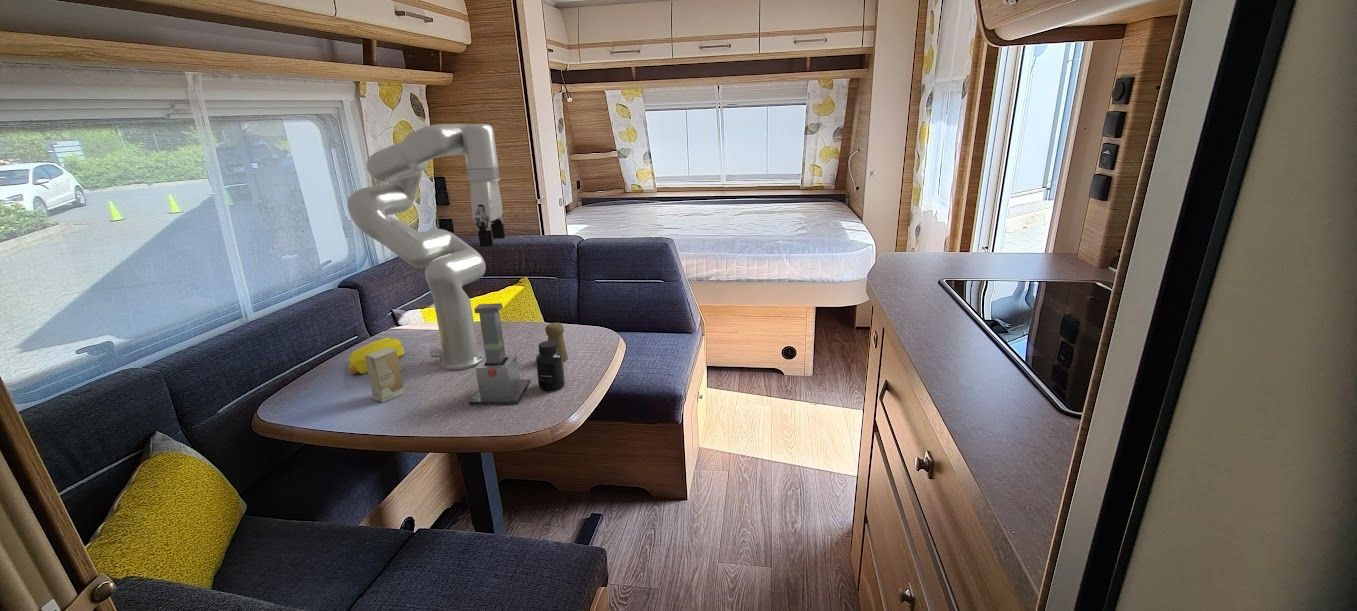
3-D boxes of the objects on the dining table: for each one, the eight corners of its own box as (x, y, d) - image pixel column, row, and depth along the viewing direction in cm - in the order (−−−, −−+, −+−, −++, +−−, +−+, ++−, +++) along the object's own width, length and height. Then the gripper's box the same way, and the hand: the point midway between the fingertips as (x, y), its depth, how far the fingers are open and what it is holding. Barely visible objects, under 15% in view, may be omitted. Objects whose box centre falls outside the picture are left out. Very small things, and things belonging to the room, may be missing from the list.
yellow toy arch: (342, 375, 161) (361, 379, 158) (336, 353, 158) (356, 357, 156) (393, 351, 176) (412, 354, 174) (389, 331, 174) (408, 334, 171)
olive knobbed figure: (563, 364, 162) (559, 328, 159) (543, 363, 163) (539, 327, 160) (571, 355, 168) (567, 320, 164) (552, 354, 169) (548, 320, 166)
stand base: (469, 405, 140) (463, 372, 138) (485, 383, 152) (481, 352, 149) (517, 404, 140) (513, 370, 137) (530, 382, 152) (526, 351, 149)
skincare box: (382, 403, 143) (372, 358, 139) (372, 399, 145) (362, 355, 141) (406, 393, 148) (397, 349, 144) (396, 389, 150) (387, 346, 147)
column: (484, 372, 142) (474, 308, 137) (489, 365, 146) (479, 303, 140) (506, 371, 142) (497, 308, 137) (510, 365, 145) (502, 303, 140)
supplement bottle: (542, 394, 145) (537, 351, 141) (536, 384, 150) (530, 342, 147) (569, 388, 148) (564, 345, 144) (561, 378, 153) (556, 337, 150)
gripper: (481, 172, 152) (489, 236, 157) (455, 179, 135) (466, 250, 141) (508, 171, 152) (516, 235, 157) (487, 178, 135) (496, 249, 141)
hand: (493, 242), depth 149 cm, fingers open, 9 cm apart
